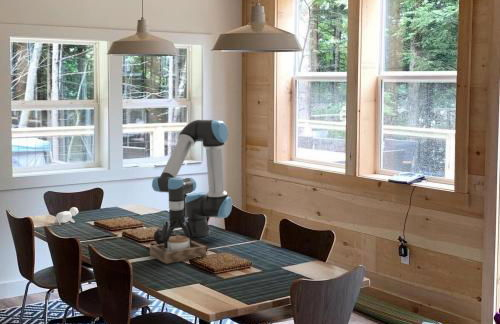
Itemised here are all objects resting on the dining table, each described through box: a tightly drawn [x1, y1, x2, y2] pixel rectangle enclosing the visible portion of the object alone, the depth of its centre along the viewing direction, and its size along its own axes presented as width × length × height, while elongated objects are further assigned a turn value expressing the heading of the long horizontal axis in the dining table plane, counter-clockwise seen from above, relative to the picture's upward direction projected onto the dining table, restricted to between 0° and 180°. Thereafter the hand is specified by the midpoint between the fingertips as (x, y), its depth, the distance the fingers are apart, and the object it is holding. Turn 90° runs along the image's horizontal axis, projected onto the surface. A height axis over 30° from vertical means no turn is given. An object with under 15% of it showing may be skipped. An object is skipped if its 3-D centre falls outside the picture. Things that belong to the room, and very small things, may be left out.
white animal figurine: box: [53, 206, 79, 226], centre depth 444 cm, size 8×8×15 cm
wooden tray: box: [149, 240, 207, 264], centre depth 363 cm, size 22×18×5 cm
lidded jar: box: [168, 234, 188, 252], centre depth 362 cm, size 11×11×9 cm
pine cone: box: [153, 226, 177, 245], centre depth 381 cm, size 10×18×10 cm, turn 43°
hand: (177, 252), depth 363 cm, fingers closed on lidded jar, 11 cm apart
